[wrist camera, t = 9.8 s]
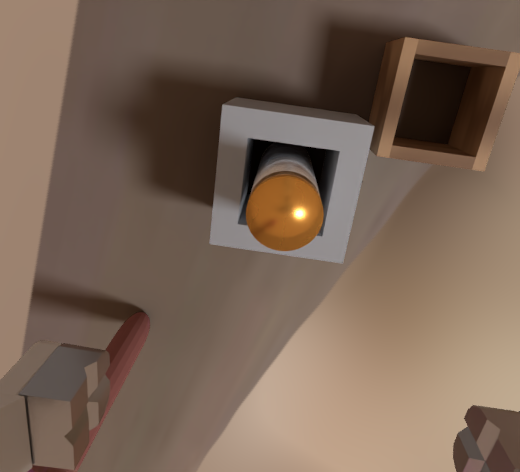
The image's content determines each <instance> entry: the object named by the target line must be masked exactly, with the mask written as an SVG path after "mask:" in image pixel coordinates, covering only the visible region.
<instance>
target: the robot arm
mask: <svg viewBox="0 0 520 472" xmlns="http://www.w3.org/2000/svg"><path fill="white" fill-rule="evenodd" d="M109 366H110V356H109V353H108V352H107V351H106V350H100V349H94V348H89V347H83V346H77V345H71V344H65V343H63V344H62V343H57V342H51V341H46V340H40V341H38V342H36V343H34V344H33V346H32V347H31V348H30V349H29V350H28V351H27V352H26V353H25V354H24V355H23V356H22V357H21V358H20V360H19V361H18V362H17V363H16V364H15V365H14V366H13V367H12V368H11V369H10V370H9V372H8V373H7V374H6V375H5V376H4V377H3V378H2V379H1V380H0V472H27V471H29V470H30V469H31V468H32V465H36V466H45V467H53V468H61V469H70V470H75V468H76V466H77V465H78V463H79V461H80V459H81V457H82V455H83V453H84V452H85V450H86V448H87V446H88V444H89V431H90V430H91V429H93V428H95V427H96V426H98V425H99V423H100V421H101V419H102V417H103V415H104V413H105V410H106V407H107V404H108V401H109V394H110V380H109V379H108V378H107V376H106V375H105V373H106V371H107V370H108V368H109ZM464 419H465V421H466V423H467V426H468V427H466V428H465V429H463V430H462V431H460V432H459V433H458V434H457V437H456V439H455V442H454V448H453V459H454V463H455V468H456V471H457V472H520V411H519V412H516V411H511V410H504V409H497V408H490V407H483V406H475V405H473V406H472V407H471V408H470V409H468V411H467V413H466V415H465V418H464Z"/></svg>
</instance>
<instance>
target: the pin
mask: <svg viewBox="0 0 520 472" xmlns="http://www.w3.org/2000/svg"><path fill="white" fill-rule="evenodd" d="M323 217H324V211H323V205H322V202H321V198H320V194H319V190H318V186H317V182H316V178H315V174H314V170H313V167H312V163H311V159H310V156H309V153H308V152H307V150H306V149H305V148H304V147H303V146H301V145H294V144H287V143H280V142H274V143H273V144H271V145H270V146H269V147H267V149H266V150H265V151H264V153H263V155H262V157H261V161H260V164H259V167H258V171H257V174H256V177H255V180H254V184H253V187H252V190H251V194H250V197H249V200H248V204H247V208H246V221H247V225H248V228H249V230H250V232H251V234H252V235H253V236H254V238H255V239H256V240H257V241H258V242H260V243H261V244H262V245H264V246H266V247H268V248H270V249H273V250H277V251H292V250H296V249H299V248H302V247H304V246H305V245H307V244H308V243H310V242H311V241H312V240H313V239H314V238H315V237H316V236H317V234H318V233H319V231H320V229H321V226H322V223H323Z"/></svg>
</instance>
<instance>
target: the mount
mask: <svg viewBox="0 0 520 472" xmlns="http://www.w3.org/2000/svg"><path fill="white" fill-rule="evenodd" d="M414 59H416V60H423V61H430V62H437V63H444V64H451V65H459V66H466V67H471V70H470V73H469V76H468V79H467V83H466V86H465V89H464V93H463V96H462V99H461V103H460V106H459V109H458V112H457V116H456V119H455V122H454V126H453V129H452V132H451V136H450V139H449V142H448V144H442V143H435V142H428V141H421V140H414V139H407V138H400V137H394V136H395V132H396V128H397V124H398V120H399V116H400V112H401V108H402V104H403V100H404V96H405V92H406V88H407V84H408V80H409V76H410V72H411V68H412V64H413V60H414ZM519 69H520V53H514V52H507V51H500V50H493V49H486V48H479V47H472V46H465V45H458V44H451V43H444V42H436V41H429V40H422V39H415V38H408V37H404V38H400V39H397V40H393V41H390V42H386V46H385V50H384V55H383V59H382V64H381V68H380V73H379V77H378V81H377V86H376V90H375V95H374V99H373V104H372V108H371V113H370V117H369V121H368V122H369V123H370V124H372V125H374V126H375V127H374V131H373V136H372V140H371V144H370V150H371V151H372V152H373V153H374V154H375V155H376V156H380V157H387V158H394V159H401V160H408V161H415V162H422V163H429V164H436V165H443V166H450V167H457V168H464V169H471V170H478V171H485V168H486V164H487V162H488V159H489V156H490V153H491V150H492V147H493V144H494V142H495V139H496V136H497V133H498V130H499V127H500V124H501V121H502V118H503V115H504V112H505V110H506V107H507V104H508V101H509V98H510V95H511V92H512V90H513V86H514V84H515V81H516V78H517V75H518V72H519Z"/></svg>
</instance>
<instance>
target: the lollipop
mask: <svg viewBox="0 0 520 472" xmlns="http://www.w3.org/2000/svg"><path fill="white" fill-rule="evenodd" d="M149 329H150V320H149V317H148V315H147V314H146V313H143V312H138V313H135V314H134V315H132V316H131V317H129V318H128V319H127V320H126V321H125V322H124V324H123V325H122V326H121V328H120V329H119V330H118V332H117V333H116V334H115V336H114V337H113V339H112V341H111V342H110V344H109V345H108V347H107V348H106V351H107V352H108V353H109V356H110V366H109V368H108V370H107V371H106V373H105V375H106V376H107V378H108V379H109V380H110V394H109V401H108V404H107V407H106V410H105V413H104V415H103V417H102V419H101V421H100V423H99V425H98V426H96V427H95V428H93V429H91V430H90V431H89V444H88V446H87V448H86V450H85V452H84V453H83V455H82V457H81V459H80V461H79V463H78V465H77V466H76V468H75V470H70V469H61V468H53V467H45V466H36V465H32V468H31V469H30V470H29V471H27V472H77V471H78V469H79V467H80V465H81V463H82V461H83V459H84V457H85V456H86V454H87V452H88V450H89V448H90V446H91V444H92V442H93V440H94V438H95V436H96V434H97V433H98V431H99V429H100V427H101V425H102V423H103V421H104V419H105V417H106V415H107V413H108V411H109V410H110V408H111V406H112V404H113V402H114V400H115V398H116V397H117V395H118V393H119V391H120V389H121V387H122V385H123V383H124V381H125V379H126V377H127V376H128V374H129V372H130V370H131V368H132V366H133V364H134V362H135V360H136V358H137V356H138V355H139V353H140V351H141V349H142V347H143V345H144V343H145V341H146V338H147V336H148V333H149Z"/></svg>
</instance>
